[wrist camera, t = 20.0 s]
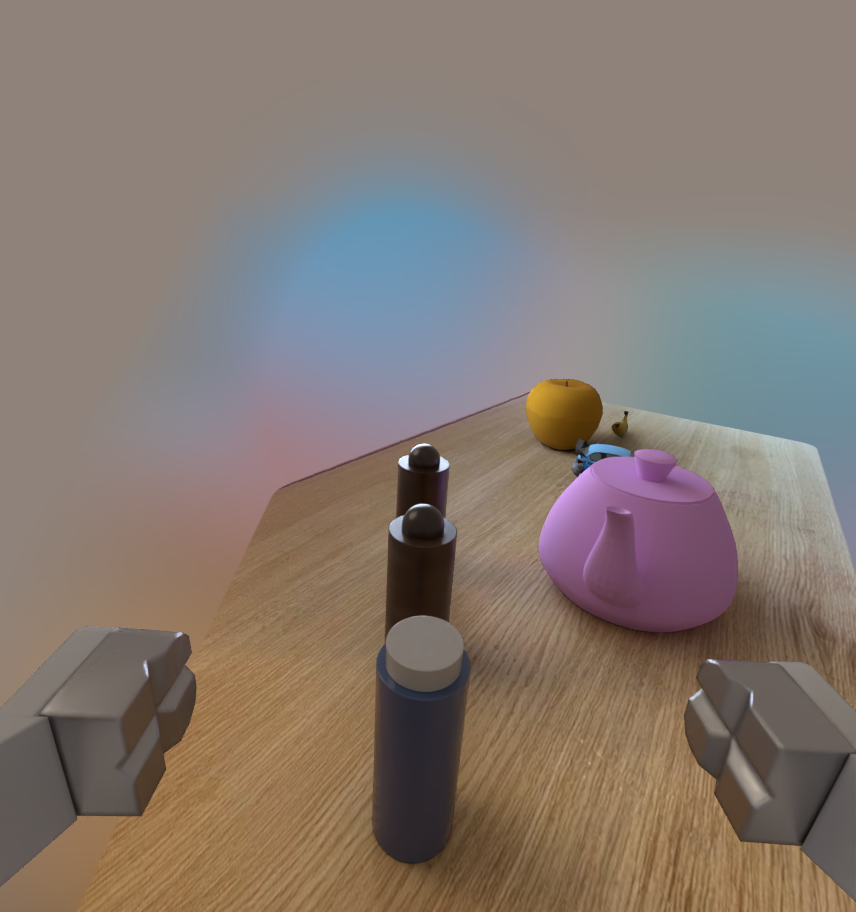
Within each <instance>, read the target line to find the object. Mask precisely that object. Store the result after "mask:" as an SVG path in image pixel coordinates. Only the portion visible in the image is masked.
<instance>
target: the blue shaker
mask: <svg viewBox="0 0 856 912" xmlns="http://www.w3.org/2000/svg"><path fill="white" fill-rule="evenodd" d="M469 678H470V661H469V657H468V655H467V653H466V652H465V650H464V641H463V638H462V636H461V634H460V632H459V631H458V630H457V629H456V628H455V627H454V626H453V625H452V624H450V623H449V622H447V621H445V620H442V619H440V618H436V617H432V616H414V617H409V618H406V619H404V620H401V621H400V622H398V623H396V624H395V625H394V626H393V627H392V628H391V629H390V631H389V632H388V634H387V637H386V643H385V644H384V645H383V647H382V648H381V650H380V652H379V654H378V657H377V662H376V695H375V733H374V770H373V807H372V826H373V831H374V834H375V837H376V839H377V842H378V843H379V845H380V846H381V847H382V849H383V850H384V851H385V852H386V853H387V854H388V855H390V856H391V857H393V858H394V859H397V860H399V861H402V862H406V863H420V862H424V861H427V860H429V859H431V858H433V857H434V856H436V855H437V854H438V853H439V852H440V851H441V850H442V849H443V848H444V847H445V845H446V844H447V842H448V840H449V838H450V835H451V831H452V826H453V817H454V808H455V800H456V791H457V782H458V774H459V765H460V756H461V748H462V739H463V730H464V722H465V713H466V704H467V696H468V687H469Z"/></svg>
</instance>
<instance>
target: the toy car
mask: <svg viewBox="0 0 856 912" xmlns="http://www.w3.org/2000/svg"><path fill="white" fill-rule="evenodd" d="M582 445H584V449H582ZM586 446H587V447H586ZM575 450H576V452H577V454H578V457H577V458H576V459H575V461H574V467H572V471H574V474H575V475H576V476H577V477H578V476H579V473H581V474H582V473H583V472H584V471H585V470H586V469H587V468H589V467H590V466H591V465H592V464H594V463H595V462H597V461H599V460H601V459H605V458H609V457H635V455H634V454H633V453H632V452H631V451H629V450H627V449H625V448H622V447H618V446H613V445H606V444H593V445H590V446H589V445H588V444H587V442H586V441H584V440H581V439H580V438H579V440H578V442H577V444H576V447H575ZM581 474H580V475H581Z"/></svg>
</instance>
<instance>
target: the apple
mask: <svg viewBox="0 0 856 912" xmlns="http://www.w3.org/2000/svg"><path fill="white" fill-rule="evenodd" d="M526 414H527V419H528V422H529V425H530V428H531V430H532V431H533V433H534V435H535V436H536V438H537V439H538V440H540V441H541V442H542V443H544V444H545V445H547V446H549V447H551V448H553V449H559V450H571V449H575V447H576V444H577V442H578V440H579V438H580V439H581V440H584V441H587V440H588V439H589V438H590V437H591V436H592V435H593V433H594V432H595V431H596V429H597V428H598V426H599V423H600V420H601V417H602V414H603V406H602V402H601V399H600V396H599V394H598V393H597V391H596V390H595V388H593V387H592V386H590V385H589V384H586V383H584V382H581V381H578V380H572V379H550V380H545V381H542V382H540V383H539V384H538V385H536V386H535V387H534V388H533V390H532V391H531V392H530V394H529V396H528V398H527V404H526Z"/></svg>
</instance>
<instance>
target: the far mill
mask: <svg viewBox="0 0 856 912" xmlns="http://www.w3.org/2000/svg"><path fill="white" fill-rule="evenodd" d="M449 466H450V465H449V462H448V461H447V460H446V459H444V458H442V457H440V455H439V453H438V451H437V450H436V448H434V447H433V446H431V445H429V444H419V445H417V446H415V447H414V448H413V449H412V450H411V452H410V454H409V455H407V456H404V457H402V458H401V459H400V460H399V461H398V485H397V510H396V518H398V517H400V516H403V515H405V513H406V512H407V511H408V510H409V509H410V508H411V507H413V506H414V505H417V504H429V505H432V506H434V507H436V508H437V509H438V510H439V511H440V512H441V514H442V516H443V518H445V516H446V503H447V491H448V479H449Z"/></svg>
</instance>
